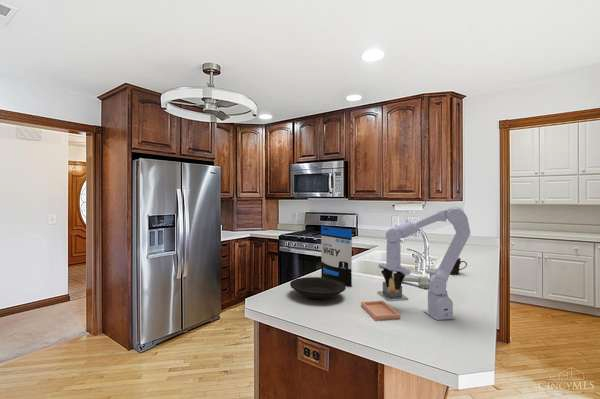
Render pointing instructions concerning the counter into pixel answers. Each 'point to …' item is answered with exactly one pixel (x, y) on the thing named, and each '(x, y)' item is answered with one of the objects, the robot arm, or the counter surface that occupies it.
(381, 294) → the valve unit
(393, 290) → the cylinder
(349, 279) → the protein powder
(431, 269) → the showerhead
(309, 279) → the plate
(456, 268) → the coffee mug
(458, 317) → the counter surface
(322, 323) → the counter surface
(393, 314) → the terracotta tray
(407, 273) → the robot arm
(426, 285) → the pale grey long piece
